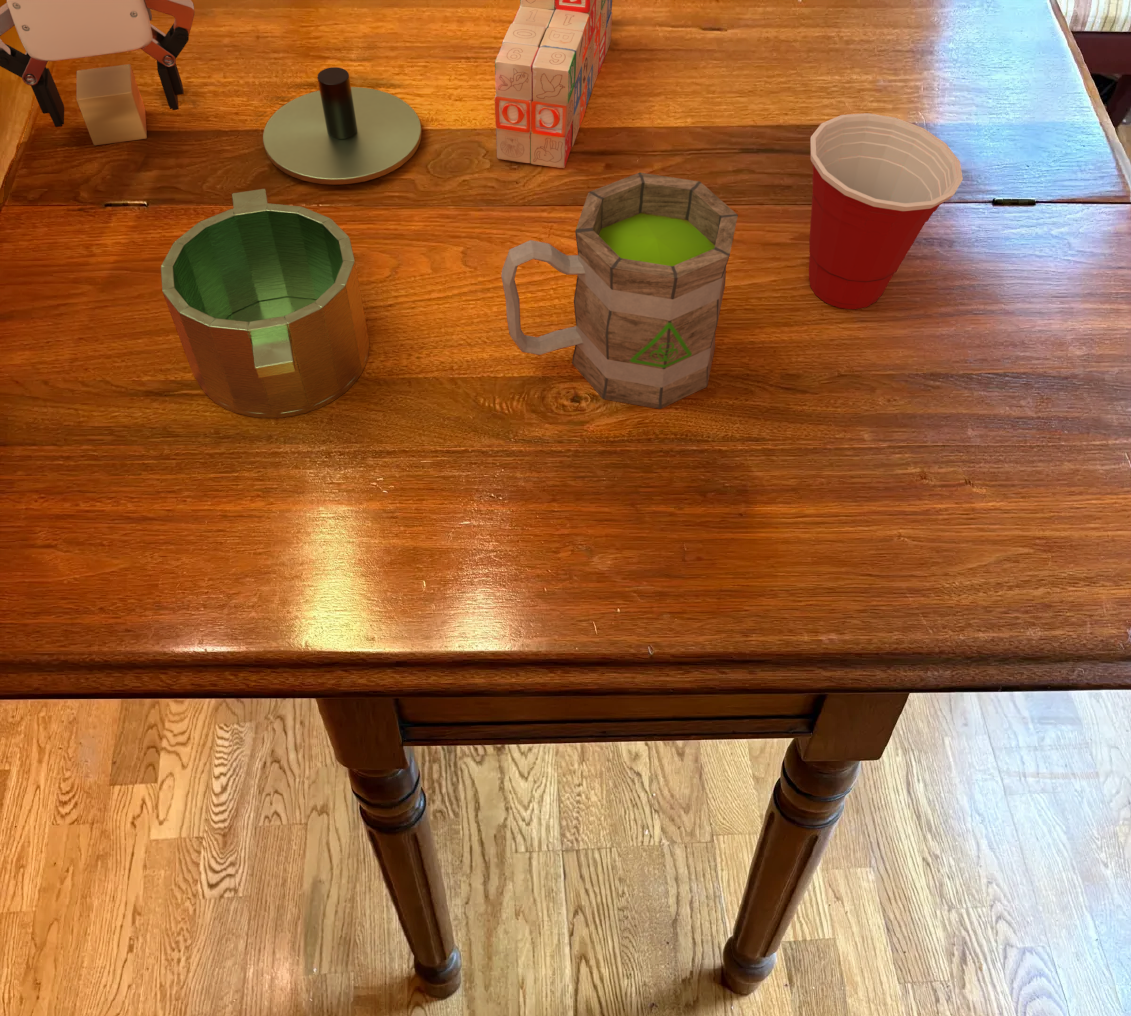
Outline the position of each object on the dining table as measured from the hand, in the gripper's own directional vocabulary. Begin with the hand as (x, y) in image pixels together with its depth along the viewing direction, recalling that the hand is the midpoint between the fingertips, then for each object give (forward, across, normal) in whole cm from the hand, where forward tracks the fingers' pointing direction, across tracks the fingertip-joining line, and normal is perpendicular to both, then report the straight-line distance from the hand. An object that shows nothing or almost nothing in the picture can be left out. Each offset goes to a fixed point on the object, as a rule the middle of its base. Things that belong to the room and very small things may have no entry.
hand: (117, 109), depth 94 cm
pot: (+2, -10, +32) cm, 33 cm away
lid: (+1, -18, +7) cm, 20 cm away
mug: (+2, -34, +38) cm, 51 cm away
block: (+2, 0, 0) cm, 2 cm away
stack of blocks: (+2, -38, +5) cm, 39 cm away
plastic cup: (+2, -54, +35) cm, 64 cm away
